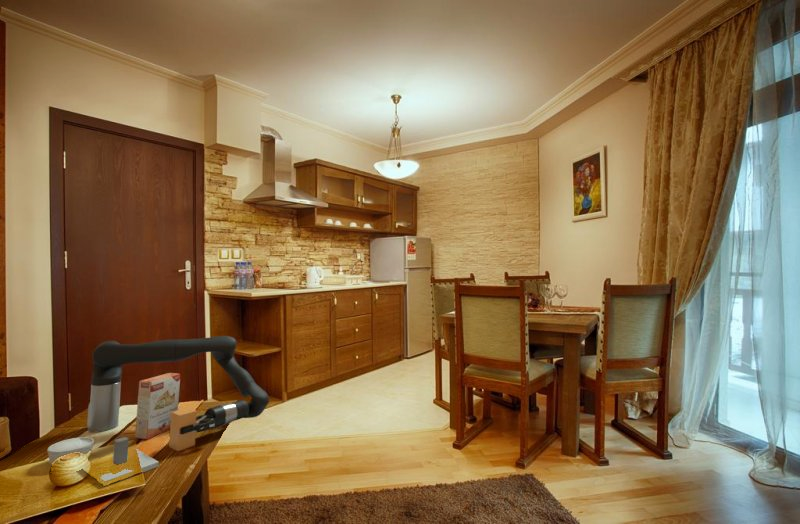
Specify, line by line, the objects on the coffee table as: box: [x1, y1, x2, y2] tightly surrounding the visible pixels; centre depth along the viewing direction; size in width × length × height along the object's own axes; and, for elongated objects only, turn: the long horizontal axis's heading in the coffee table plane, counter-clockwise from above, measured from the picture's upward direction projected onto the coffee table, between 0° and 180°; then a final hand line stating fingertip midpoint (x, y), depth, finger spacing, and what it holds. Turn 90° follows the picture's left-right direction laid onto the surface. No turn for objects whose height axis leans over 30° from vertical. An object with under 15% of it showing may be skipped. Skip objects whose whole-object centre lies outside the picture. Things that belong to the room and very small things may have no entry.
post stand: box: [100, 436, 160, 482], centre depth 115 cm, size 18×14×8 cm
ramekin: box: [46, 436, 95, 465], centre depth 119 cm, size 11×11×5 cm
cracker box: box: [134, 372, 181, 440], centre depth 143 cm, size 14×6×21 cm, turn 168°
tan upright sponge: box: [168, 407, 198, 452], centre depth 131 cm, size 6×6×12 cm
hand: (176, 429), depth 129 cm, fingers closed on tan upright sponge, 5 cm apart
